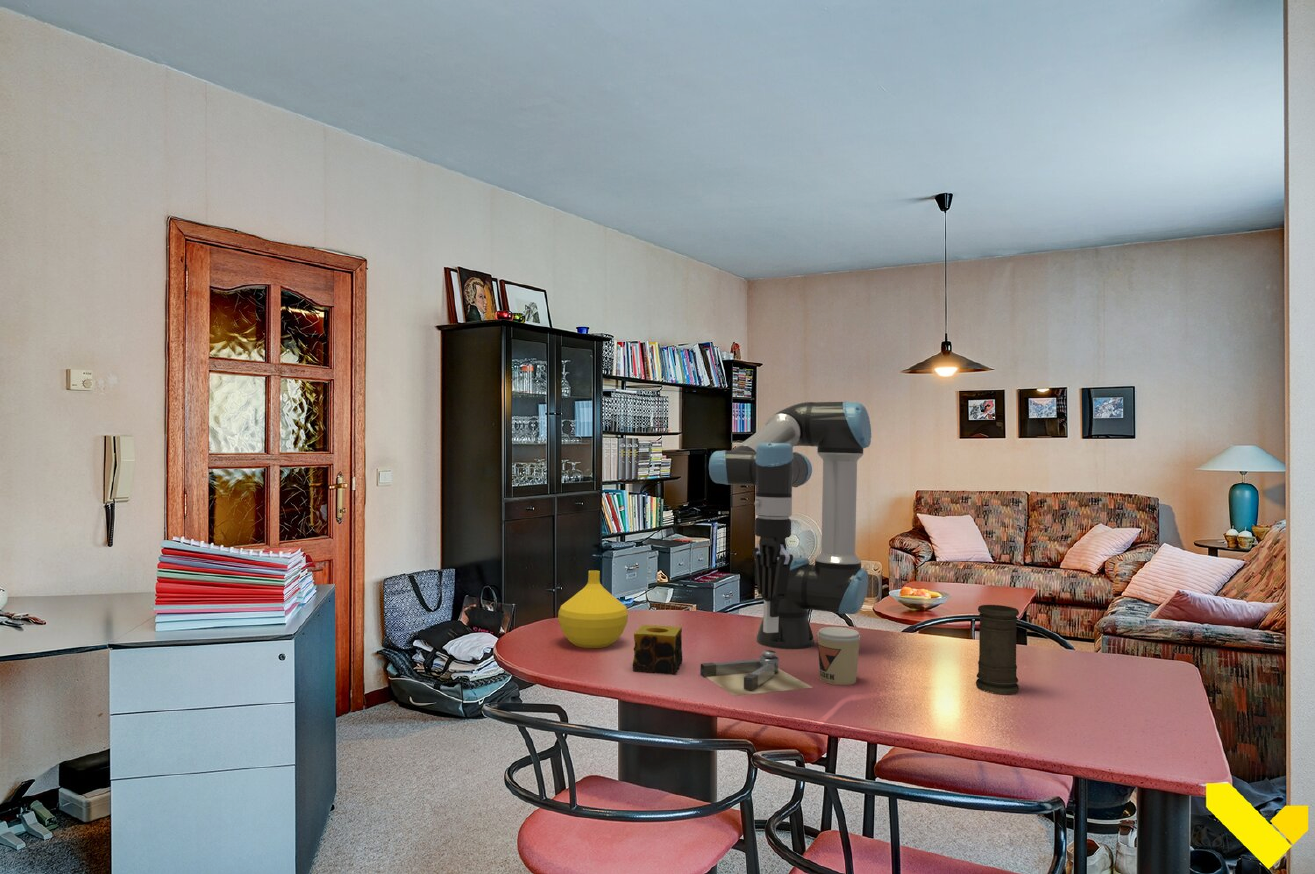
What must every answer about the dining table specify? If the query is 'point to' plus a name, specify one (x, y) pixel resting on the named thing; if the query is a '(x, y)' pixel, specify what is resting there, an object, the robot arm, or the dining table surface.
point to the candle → (657, 649)
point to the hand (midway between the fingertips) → (770, 631)
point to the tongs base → (737, 667)
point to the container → (997, 649)
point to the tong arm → (760, 673)
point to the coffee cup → (838, 655)
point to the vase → (593, 616)
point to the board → (774, 684)
